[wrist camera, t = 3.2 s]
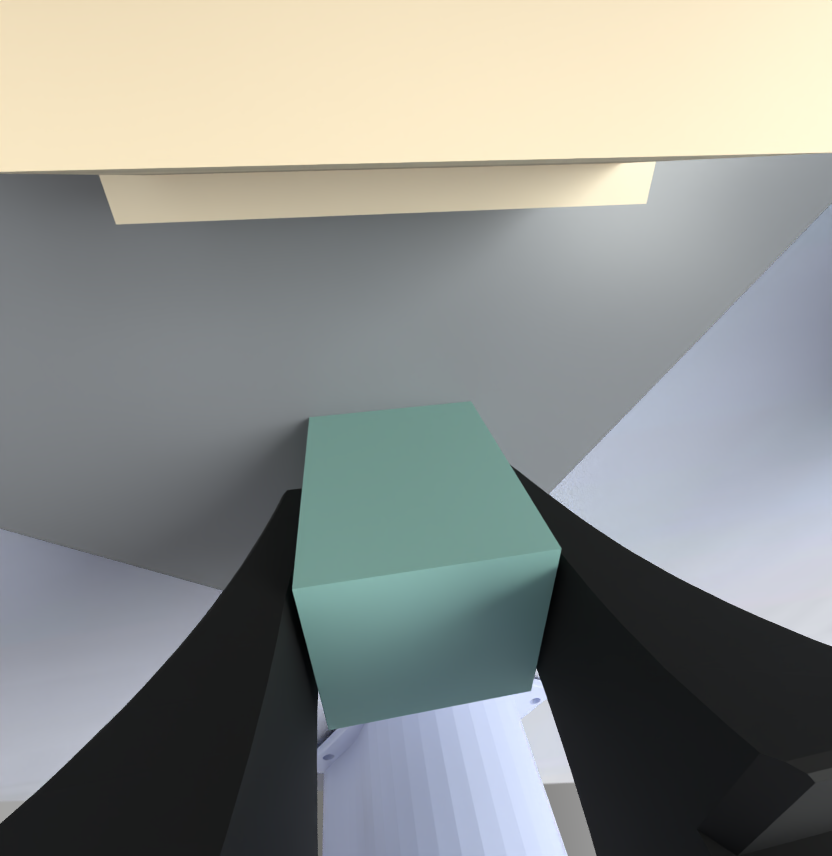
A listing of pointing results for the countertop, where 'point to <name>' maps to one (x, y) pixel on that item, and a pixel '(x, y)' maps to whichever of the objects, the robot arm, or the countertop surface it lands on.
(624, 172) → the maple slab lower
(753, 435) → the countertop surface
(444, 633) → the sage block
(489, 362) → the grey board
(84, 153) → the maple slab upper
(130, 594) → the countertop surface
